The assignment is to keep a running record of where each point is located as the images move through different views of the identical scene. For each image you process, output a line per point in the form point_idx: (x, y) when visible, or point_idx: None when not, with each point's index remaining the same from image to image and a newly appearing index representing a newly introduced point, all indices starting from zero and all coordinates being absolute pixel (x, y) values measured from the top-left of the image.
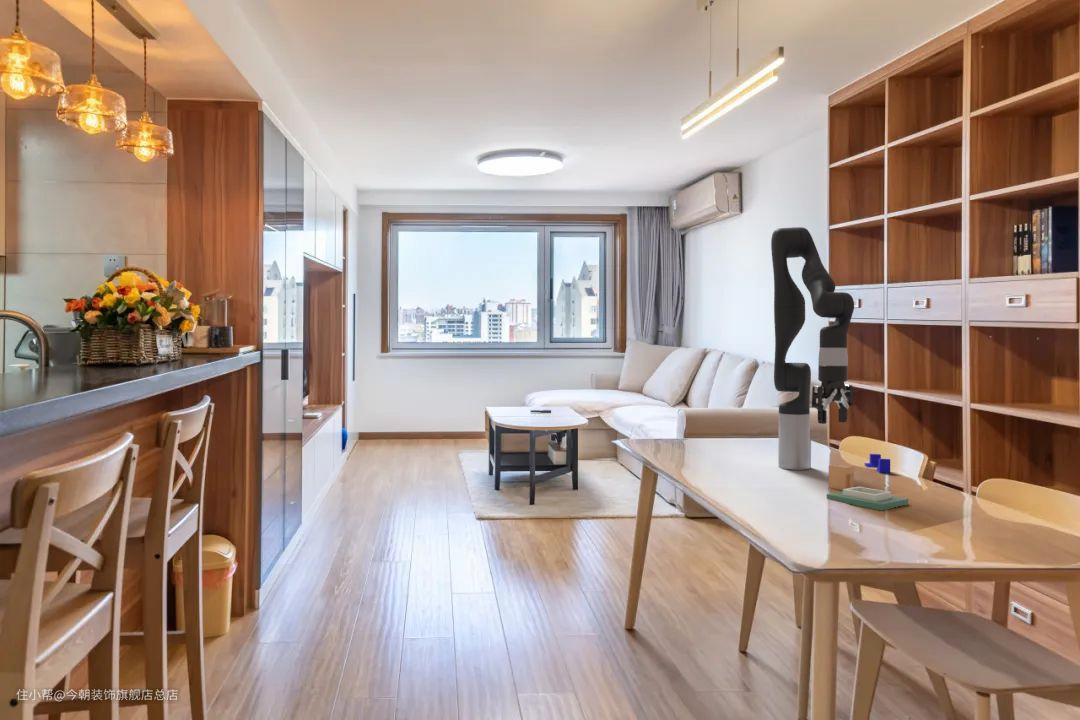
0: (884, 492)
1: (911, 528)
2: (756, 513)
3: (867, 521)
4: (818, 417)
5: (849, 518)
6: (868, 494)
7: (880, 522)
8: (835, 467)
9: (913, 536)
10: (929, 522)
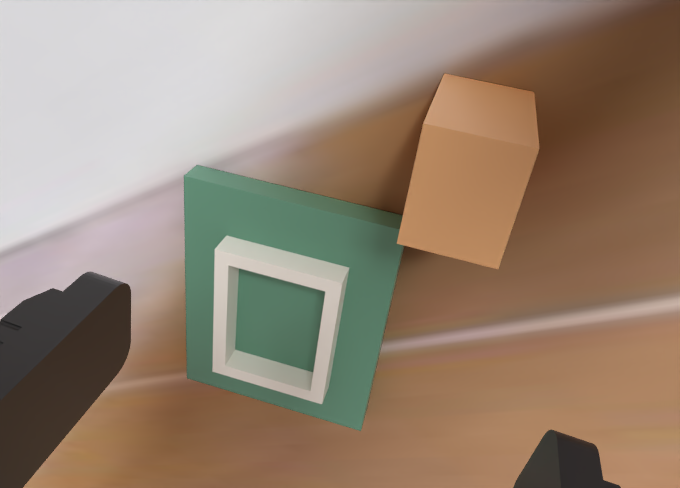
0: (291, 386)
1: (74, 441)
2: None
3: None
4: (1, 333)
5: None
6: (214, 346)
7: None
8: (412, 173)
9: None
10: (171, 467)
